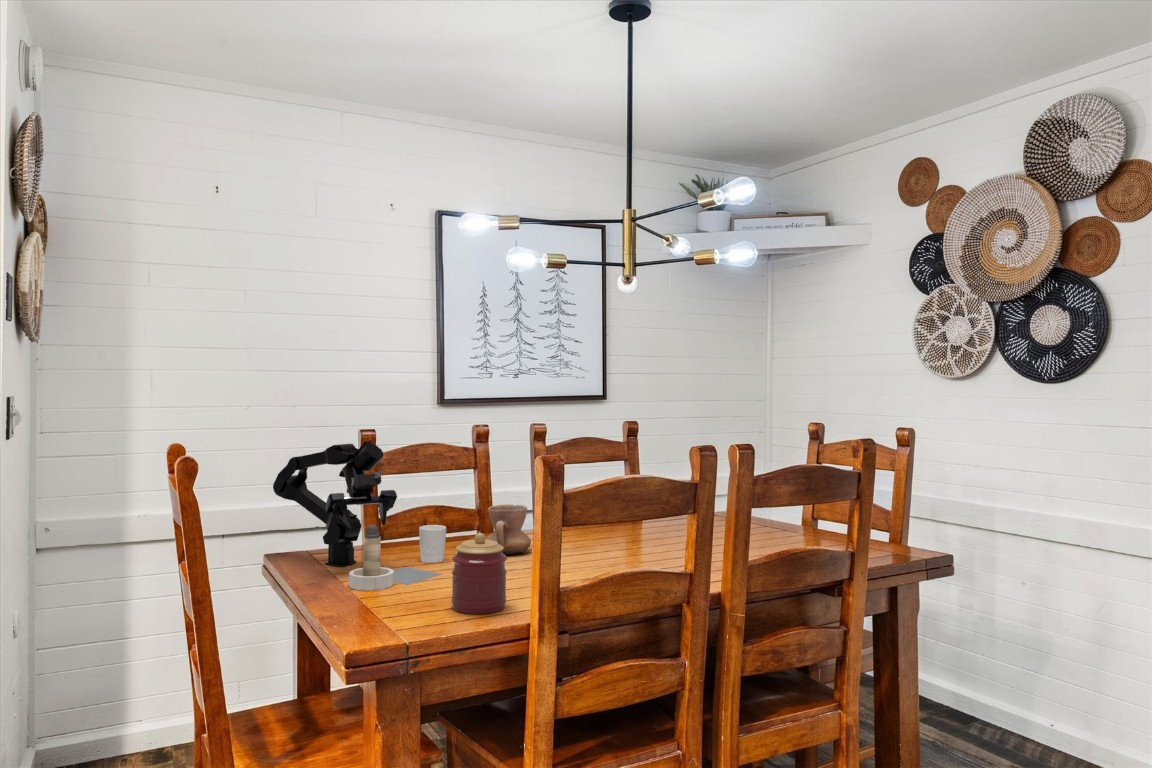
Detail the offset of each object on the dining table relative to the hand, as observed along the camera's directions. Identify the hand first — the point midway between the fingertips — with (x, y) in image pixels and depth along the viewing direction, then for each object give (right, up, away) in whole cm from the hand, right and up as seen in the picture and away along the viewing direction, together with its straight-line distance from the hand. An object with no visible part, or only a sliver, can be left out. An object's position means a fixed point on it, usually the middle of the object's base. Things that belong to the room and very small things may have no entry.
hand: (368, 526), depth 217 cm
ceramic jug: (+35, -14, +33) cm, 50 cm away
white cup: (+14, -14, +19) cm, 28 cm away
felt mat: (+10, -14, 0) cm, 17 cm away
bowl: (+3, -14, -10) cm, 17 cm away
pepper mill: (+3, -13, -10) cm, 17 cm away
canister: (+33, -15, -27) cm, 45 cm away
